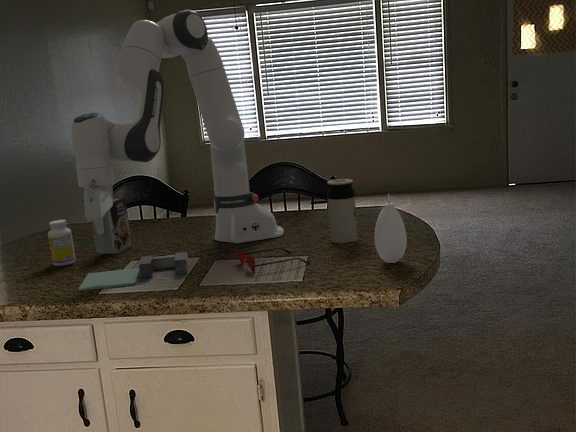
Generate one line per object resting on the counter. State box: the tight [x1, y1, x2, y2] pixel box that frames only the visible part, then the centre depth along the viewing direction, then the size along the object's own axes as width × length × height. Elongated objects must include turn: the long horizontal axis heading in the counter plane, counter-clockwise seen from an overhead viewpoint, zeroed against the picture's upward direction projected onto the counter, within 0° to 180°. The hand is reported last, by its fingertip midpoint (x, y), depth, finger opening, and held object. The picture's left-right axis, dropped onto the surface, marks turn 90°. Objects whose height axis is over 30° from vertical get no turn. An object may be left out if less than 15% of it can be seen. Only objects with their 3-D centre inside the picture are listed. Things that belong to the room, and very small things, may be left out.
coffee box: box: [100, 197, 132, 255], centre depth 193 cm, size 9×6×16 cm
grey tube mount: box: [138, 251, 189, 280], centre depth 165 cm, size 12×10×4 cm
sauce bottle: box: [374, 192, 408, 264], centre depth 155 cm, size 8×8×18 cm
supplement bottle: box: [47, 219, 77, 267], centre depth 182 cm, size 7×7×13 cm
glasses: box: [234, 247, 311, 274], centre depth 164 cm, size 14×16×5 cm
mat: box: [77, 267, 140, 292], centre depth 162 cm, size 14×14×1 cm
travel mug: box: [326, 178, 358, 244], centre depth 181 cm, size 8×8×18 cm
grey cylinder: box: [91, 211, 114, 254], centre depth 159 cm, size 4×4×10 cm
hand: (103, 230), depth 159 cm, fingers closed on grey cylinder, 4 cm apart
